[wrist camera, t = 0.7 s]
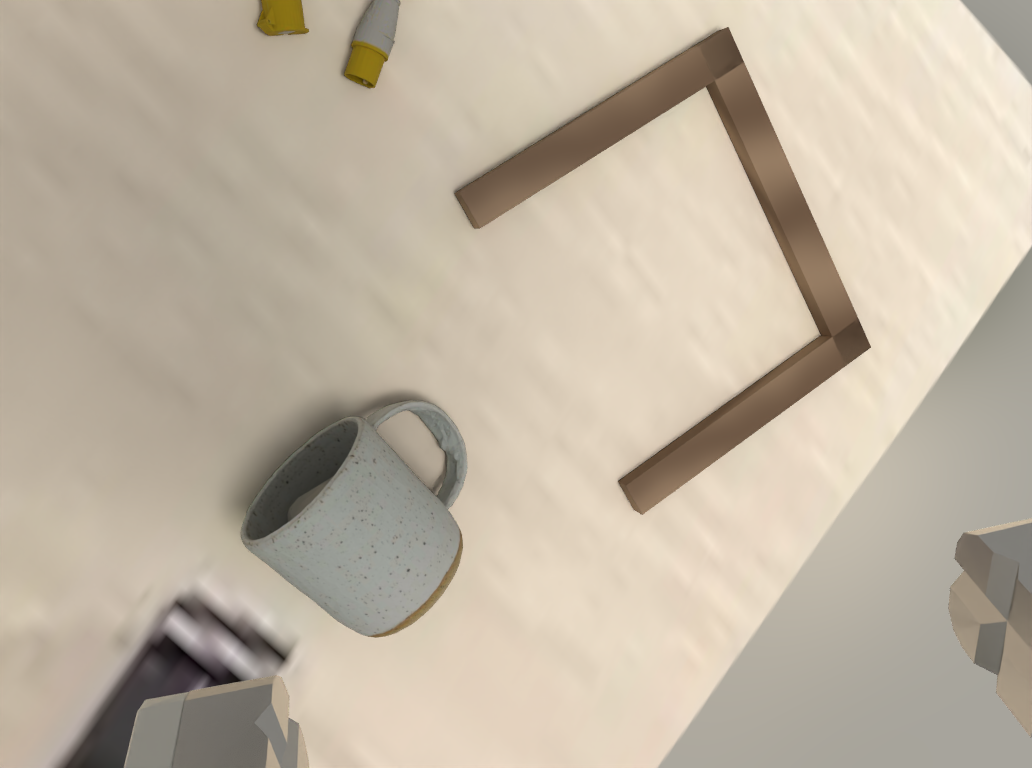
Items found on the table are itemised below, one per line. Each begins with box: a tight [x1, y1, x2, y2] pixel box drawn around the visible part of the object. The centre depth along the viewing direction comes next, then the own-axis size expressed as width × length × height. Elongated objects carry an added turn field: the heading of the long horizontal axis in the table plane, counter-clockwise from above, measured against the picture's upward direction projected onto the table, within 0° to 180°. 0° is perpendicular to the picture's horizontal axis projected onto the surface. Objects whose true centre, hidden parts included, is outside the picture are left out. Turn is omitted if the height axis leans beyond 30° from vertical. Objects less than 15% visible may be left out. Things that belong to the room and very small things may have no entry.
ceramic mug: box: [241, 401, 467, 637], centre depth 45 cm, size 11×8×8 cm
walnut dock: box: [454, 27, 871, 515], centre depth 52 cm, size 20×17×1 cm
